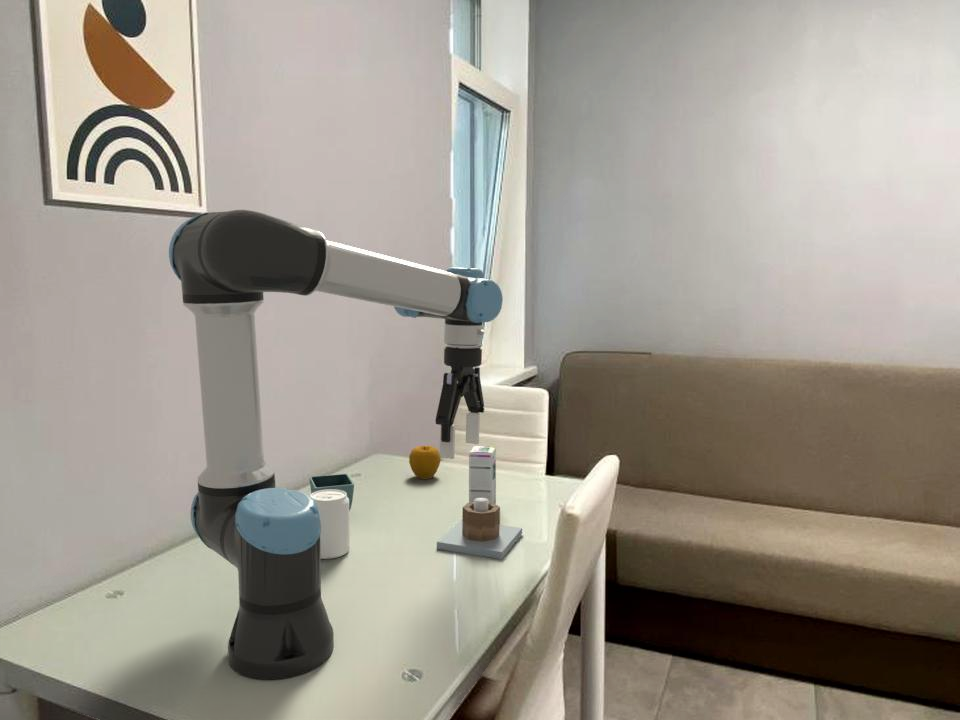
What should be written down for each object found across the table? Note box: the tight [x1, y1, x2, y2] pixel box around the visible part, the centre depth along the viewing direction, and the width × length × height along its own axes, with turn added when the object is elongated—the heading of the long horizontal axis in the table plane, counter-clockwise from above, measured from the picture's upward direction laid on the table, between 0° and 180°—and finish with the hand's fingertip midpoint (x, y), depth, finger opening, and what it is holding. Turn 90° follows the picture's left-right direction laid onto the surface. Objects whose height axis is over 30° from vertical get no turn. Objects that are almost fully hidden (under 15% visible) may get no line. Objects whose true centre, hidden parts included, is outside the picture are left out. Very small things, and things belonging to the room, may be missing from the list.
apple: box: [408, 445, 441, 480], centre depth 193 cm, size 9×8×9 cm
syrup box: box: [468, 445, 497, 505], centre depth 168 cm, size 6×6×14 cm
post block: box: [436, 498, 523, 560], centre depth 148 cm, size 14×14×9 cm
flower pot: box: [309, 473, 355, 512], centre depth 160 cm, size 9×9×9 cm
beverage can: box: [309, 489, 351, 560], centre depth 141 cm, size 8×8×12 cm
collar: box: [461, 501, 501, 542], centre depth 148 cm, size 7×7×6 cm
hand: (460, 450), depth 143 cm, fingers open, 13 cm apart
